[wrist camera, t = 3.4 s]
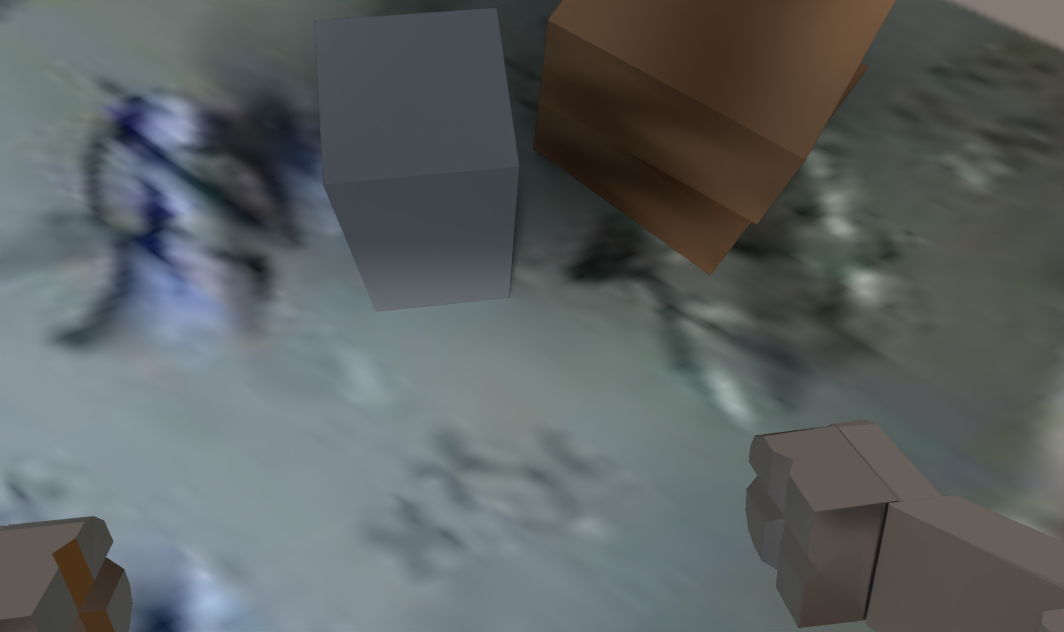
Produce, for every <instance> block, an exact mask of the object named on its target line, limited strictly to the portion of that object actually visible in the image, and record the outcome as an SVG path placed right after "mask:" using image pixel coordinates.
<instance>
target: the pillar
mask: <svg viewBox="0 0 1064 632" xmlns="http://www.w3.org/2000/svg"><path fill="white" fill-rule="evenodd" d="M314 27H315V45H316V64H317V82H318V100H319V118H320V136H321V154H322V172H323V185H324V188H325V190H326V192H327V195H328V197H329V200H330V202H331V204H332V207H333V209H334V211H335V214H336V216H337V219H338V221H339V223H340V226H341V228H342V231H343V233H344V235H345V238H346V240H347V243H348V245H349V247H350V250H351V252H352V255H353V257H354V259H355V262H356V264H357V267H358V269H359V271H360V274H361V276H362V279H363V281H364V283H365V286H366V288H367V291H368V293H369V295H370V298H371V300H372V302H373V305H374V307H375V310H376V312H377V311H387V310H396V309H406V308H415V307H424V306H434V305H443V304H453V303H462V302H471V301H481V300H490V299H500V298H509V292H510V279H511V266H512V253H513V241H514V228H515V215H516V203H517V190H518V177H519V161H518V154H517V147H516V140H515V133H514V126H513V119H512V112H511V105H510V98H509V91H508V84H507V77H506V70H505V63H504V56H503V49H502V42H501V35H500V28H499V21H498V14H497V8H487V9H473V10H459V11H445V12H431V13H417V14H403V15H389V16H375V17H361V18H347V19H333V20H319V21H314Z"/></svg>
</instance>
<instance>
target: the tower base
mask: <svg viewBox="0 0 1064 632" xmlns="http://www.w3.org/2000/svg"><path fill="white" fill-rule="evenodd" d="M867 68H868V66H867V65H865V64H864V63H862V62H861V63H860V65H859V66H858V68H857V70H856V72H855V73H854V75H853V77H852V79H851V81H850V82H849V84H848V86H847V88H846V89H845V91H844V93H843V95H842V96H841V98H840V100H839V102H838V104H837V105H836V107H835V109H834V111H833V112H832V114H831V116H830V118H831V117H832V115H833V114H834V113H835V111H836V110H837V109H838V107H839V106H840V104H841V103H842V102H843V100H844V99H845V98H846V96H847V95H848V94H849V92H850V91H851V90H852V88H853V87H854V86H855V84H856V83H857V82H858V80H859V79H860V78H861V76H862V75H863V74H864V72H865V71H866V70H867ZM539 99H540V92H539ZM830 118H829V119H830ZM829 119H828V121H829ZM828 121H827V122H828ZM534 149H535V150H536V151H538V152H539V153H541V154H542V155H543V156H545V157H546V158H548V159H549V160H550V161H552V162H553V163H555V164H556V165H557V166H559V167H560V168H562V169H563V170H564V171H566V172H567V173H568V174H570V175H571V176H573V177H574V178H575V179H577V180H578V181H580V182H581V183H582V184H584V185H585V186H587V187H588V188H589V189H591V190H592V191H594V192H595V193H596V194H598V195H599V196H601V197H602V198H603V199H605V200H606V201H608V202H609V203H610V204H612V205H613V206H614V207H616V208H617V209H619V210H620V211H621V212H623V213H624V214H626V215H627V216H628V217H630V218H631V219H633V220H634V221H635V222H637V223H638V224H640V225H641V226H642V227H644V228H645V229H647V230H648V231H649V232H651V233H652V234H653V235H655V236H656V237H658V238H659V239H660V240H662V241H663V242H665V243H666V244H667V245H669V246H670V247H672V248H673V249H674V250H676V251H677V252H679V253H680V254H681V255H683V256H684V257H686V258H687V259H688V260H690V261H691V262H693V263H694V264H695V265H697V266H698V267H699V268H701V269H702V270H704V271H705V272H706V273H708V274H709V275H711V274H712V273H713V271H714V270H715V269H716V267H717V266H718V265H719V263H720V262H721V261H722V260H723V258H724V257H725V256H726V254H727V253H728V252H729V250H730V249H731V248H732V246H733V245H734V244H735V243H736V241H737V240H738V239H739V237H740V236H741V235H742V233H743V232H744V231H745V229H746V228H747V227H748V226H749V224H750V223H751V221H750V220H748V219H746V218H744V217H743V216H741V215H739V214H737V213H735V212H734V211H732V210H730V209H728V208H726V207H725V206H723V205H721V204H719V203H717V202H716V201H714V200H712V199H710V198H709V197H707V196H705V195H703V194H701V193H700V192H698V191H696V190H694V189H692V188H691V187H689V186H687V185H685V184H684V183H682V182H680V181H678V180H676V179H675V178H673V177H671V176H669V175H667V174H666V173H664V172H662V171H660V170H658V169H657V168H655V167H653V166H651V165H650V164H648V163H646V162H644V161H642V160H641V159H639V158H637V157H635V156H633V155H632V154H630V153H628V152H626V151H624V150H623V149H621V148H619V147H617V146H616V145H614V144H612V143H610V142H608V141H607V140H605V139H603V138H601V137H599V136H598V135H596V134H594V133H592V132H591V131H589V130H587V129H585V128H583V127H582V126H580V125H578V124H576V123H574V122H573V121H571V120H569V119H567V118H565V117H564V116H562V115H560V114H558V113H557V112H555V111H553V110H551V109H549V108H548V107H546V106H544V105H542V104H540V103H539V102H538V111H537V121H536V130H535V140H534Z"/></svg>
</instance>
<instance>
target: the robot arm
mask: <svg viewBox="0 0 1064 632" xmlns="http://www.w3.org/2000/svg"><path fill="white" fill-rule="evenodd" d="M749 463H750V464H751V466H752V468H753V469H754V471H755V473H756V474H757V477H756V478H755V479H754V480H753V482H752V483H751V484H750V485H749V486H748V488H747V489H746V507H745V511H746V517H747V524H748V530H749V533H750V536H751V539H752V542H753V545H754V547H755V549H756V551H757V553H758V555H759V557H760V559H761V561H763V562H765V563H766V564H768V565H770V566H771V567H773V568H775V569H776V570H777V578H776V588H777V590H778V592H779V594H780V596H781V598H782V599H783V601H784V603H785V605H786V607H787V608H788V610H789V612H790V614H791V616H792V618H793V619H794V621H795V623H796V625H797V627H798V628H804V627H813V626H821V625H830V624H838V623H847V622H855V621H864V620H866V623H865V624H867V625H868V626H869V627H871V628H872V629H873V630H875V631H876V632H1064V542H1062V541H1060V540H1057V539H1055V538H1053V537H1051V536H1048V535H1046V534H1044V533H1041V532H1039V531H1037V530H1034V529H1032V528H1030V527H1027V526H1025V525H1023V524H1021V523H1018V522H1016V521H1014V520H1011V519H1009V518H1007V517H1004V516H1002V515H1000V514H997V513H995V512H993V511H990V510H988V509H986V508H984V507H981V506H979V505H977V504H974V503H972V502H970V501H967V500H965V499H963V498H960V497H958V496H956V495H949V496H942V495H941V494H940V493H939V492H938V491H937V490H936V489H935V487H934V486H933V485H932V484H931V483H930V482H929V481H928V480H927V479H926V478H925V477H924V476H923V475H922V473H921V472H920V471H919V470H918V469H917V468H916V467H915V466H914V465H913V464H912V463H911V462H910V461H909V459H908V458H907V457H906V456H905V455H904V454H903V453H902V452H901V451H900V450H899V449H898V448H897V447H896V446H895V444H894V443H893V442H892V441H891V440H890V439H889V438H888V437H887V436H886V435H885V434H884V433H883V432H882V430H881V429H880V428H879V427H878V426H877V425H876V424H875V423H873V422H871V421H869V420H866V419H864V420H857V421H851V422H844V423H838V424H831V425H829V426H826V427H818V428H810V429H802V430H795V431H787V432H779V433H771V434H763V435H755V436H754V438H753V441H752V443H751V446H750V455H749ZM112 544H113V539H112V537H111V535H110V532H109V530H108V528H107V526H106V523H105V521H104V520H102V519H99V518H97V517H95V516H90V517H80V518H71V519H61V520H51V521H41V522H31V523H21V524H12V525H8V526H0V632H128V631H129V628H130V621H131V613H132V604H133V603H132V596H131V588H130V583H129V581H128V578H127V575H126V573H125V570H124V569H123V568H122V567H120V566H119V565H117V564H116V563H114V562H113V561H111V560H110V559H108V558H107V557H106V556H107V554H108V552H109V550H110V548H111V546H112Z"/></svg>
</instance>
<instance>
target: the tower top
mask: <svg viewBox="0 0 1064 632" xmlns="http://www.w3.org/2000/svg"><path fill="white" fill-rule="evenodd" d="M895 1H896V0H562V2H561V3H560V4H559V6H558V7H557V8H556V10H555V11H554V12H553V14H552V15H551V16H550V18H549V19H548V24H547V33H546V43H545V52H544V62H543V71H542V80H541V90H540V99H539V103H540V104H542V105H544V106H546V107H548V108H549V109H551V110H553V111H555V112H557V113H558V114H560V115H562V116H564V117H565V118H567V119H569V120H571V121H573V122H574V123H576V124H578V125H580V126H582V127H583V128H585V129H587V130H589V131H591V132H592V133H594V134H596V135H598V136H599V137H601V138H603V139H605V140H607V141H608V142H610V143H612V144H614V145H616V146H617V147H619V148H621V149H623V150H624V151H626V152H628V153H630V154H632V155H633V156H635V157H637V158H639V159H641V160H642V161H644V162H646V163H648V164H650V165H651V166H653V167H655V168H657V169H658V170H660V171H662V172H664V173H666V174H667V175H669V176H671V177H673V178H675V179H676V180H678V181H680V182H682V183H684V184H685V185H687V186H689V187H691V188H692V189H694V190H696V191H698V192H700V193H701V194H703V195H705V196H707V197H709V198H710V199H712V200H714V201H716V202H717V203H719V204H721V205H723V206H725V207H726V208H728V209H730V210H732V211H734V212H735V213H737V214H739V215H741V216H743V217H744V218H746V219H748V220H750V221H751V222H753V223H755V224H757V223H758V222H759V221H760V219H761V218H762V217H763V215H764V214H765V213H766V211H767V210H768V209H769V207H770V206H771V205H772V204H773V202H774V201H775V200H776V198H777V197H778V196H779V194H780V193H781V192H782V190H783V189H784V188H785V186H786V185H787V184H788V182H789V181H790V180H791V178H792V177H793V176H794V175H795V173H796V172H797V171H798V169H799V168H800V167H801V165H802V164H803V163H804V161H805V160H806V158H807V157H808V155H809V153H810V151H811V149H812V148H813V146H814V144H815V142H816V141H817V139H818V137H819V135H820V134H821V132H822V130H823V128H824V126H825V125H826V123H827V121H828V119H829V118H830V116H831V114H832V112H833V111H834V109H835V107H836V105H837V104H838V102H839V100H840V98H841V96H842V95H843V93H844V91H845V89H846V88H847V86H848V84H849V82H850V81H851V79H852V77H853V75H854V73H855V72H856V70H857V68H858V66H859V65H860V63H861V61H862V59H863V58H864V56H865V54H866V52H867V50H868V49H869V47H870V45H871V43H872V42H873V40H874V38H875V36H876V35H877V33H878V31H879V29H880V27H881V26H882V24H883V22H884V20H885V19H886V17H887V15H888V13H889V12H890V10H891V8H892V6H893V4H894V3H895Z"/></svg>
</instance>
